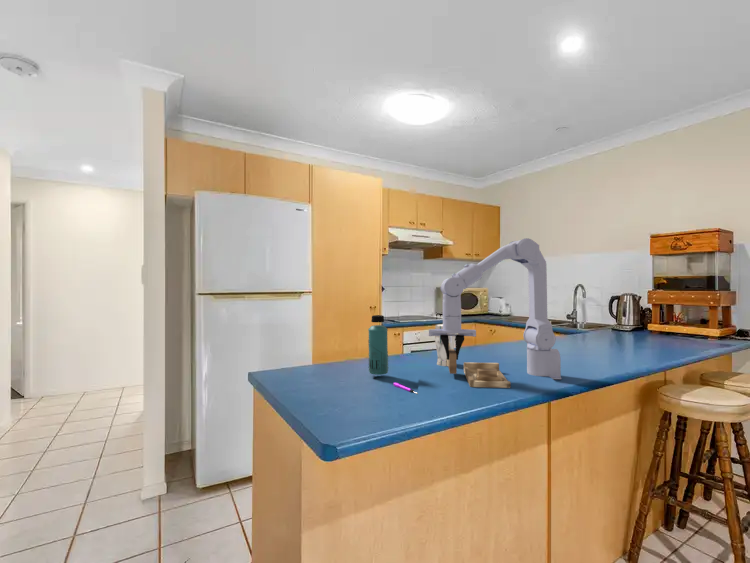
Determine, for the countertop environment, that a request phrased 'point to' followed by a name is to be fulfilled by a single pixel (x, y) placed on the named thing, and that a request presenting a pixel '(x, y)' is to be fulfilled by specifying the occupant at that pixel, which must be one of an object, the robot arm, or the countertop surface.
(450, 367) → the tall board
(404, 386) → the pink paintbrush
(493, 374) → the offcut top
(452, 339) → the beer glass
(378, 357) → the beverage bottle
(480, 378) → the offcut low
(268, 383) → the countertop surface
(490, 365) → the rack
